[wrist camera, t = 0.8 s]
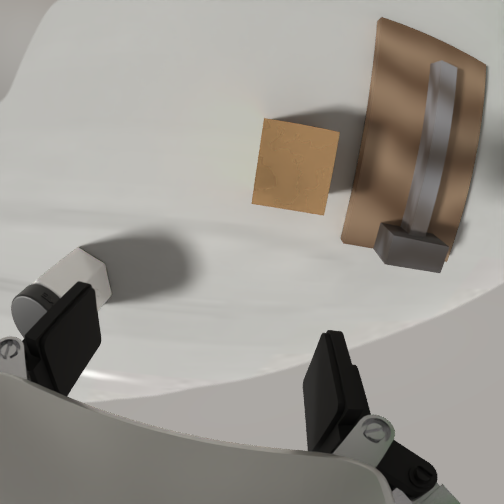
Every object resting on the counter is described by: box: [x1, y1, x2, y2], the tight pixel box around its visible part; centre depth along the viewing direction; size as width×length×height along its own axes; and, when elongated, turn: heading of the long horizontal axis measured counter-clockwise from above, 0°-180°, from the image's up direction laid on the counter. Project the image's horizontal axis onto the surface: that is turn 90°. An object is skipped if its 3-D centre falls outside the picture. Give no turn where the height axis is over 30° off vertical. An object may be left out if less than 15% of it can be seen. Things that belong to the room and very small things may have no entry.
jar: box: [11, 247, 112, 339], centre depth 31 cm, size 9×8×12 cm
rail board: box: [341, 17, 486, 273], centre depth 25 cm, size 25×14×6 cm, turn 172°
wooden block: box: [252, 118, 340, 215], centre depth 27 cm, size 7×6×7 cm
